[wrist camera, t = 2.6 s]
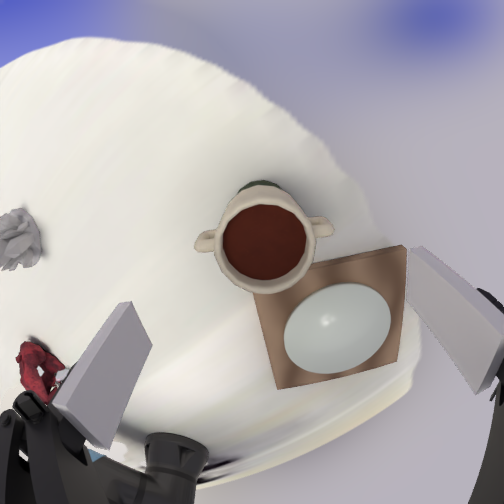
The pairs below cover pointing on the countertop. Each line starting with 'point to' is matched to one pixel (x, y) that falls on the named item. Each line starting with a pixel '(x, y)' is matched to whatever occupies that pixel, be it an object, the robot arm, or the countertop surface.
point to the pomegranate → (39, 370)
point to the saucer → (337, 327)
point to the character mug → (264, 239)
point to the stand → (323, 274)
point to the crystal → (19, 240)
